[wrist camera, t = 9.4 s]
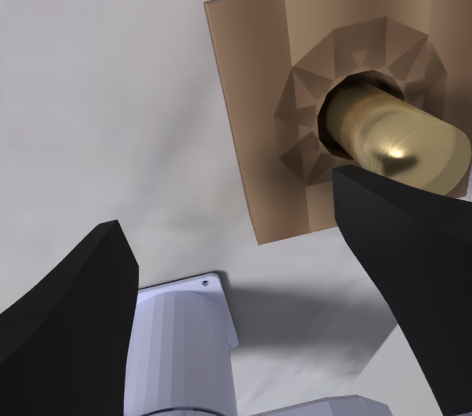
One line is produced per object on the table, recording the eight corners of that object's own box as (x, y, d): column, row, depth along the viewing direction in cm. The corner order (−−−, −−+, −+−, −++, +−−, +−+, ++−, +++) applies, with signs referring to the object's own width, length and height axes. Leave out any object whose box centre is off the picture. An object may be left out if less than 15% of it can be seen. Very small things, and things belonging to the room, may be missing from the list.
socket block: (248, 212, 23) (258, 245, 20) (203, 2, 17) (207, 4, 14) (429, 169, 23) (465, 195, 20) (452, -57, 17) (510, -68, 14)
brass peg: (317, 137, 20) (385, 214, 13) (311, 83, 18) (386, 138, 12) (369, 124, 20) (465, 193, 13) (368, 69, 18) (477, 114, 11)
